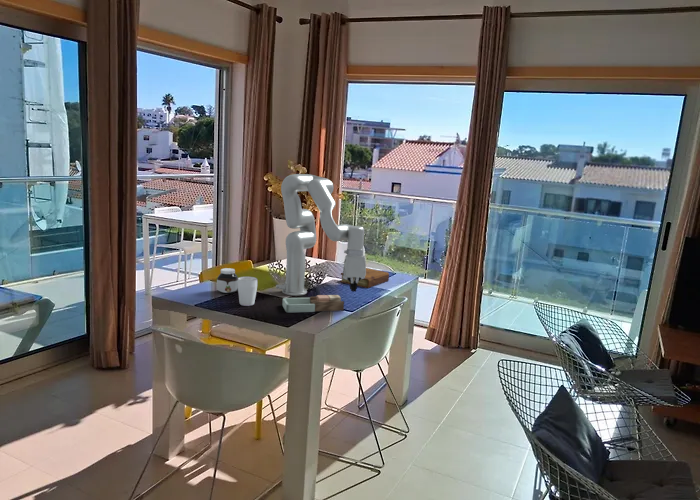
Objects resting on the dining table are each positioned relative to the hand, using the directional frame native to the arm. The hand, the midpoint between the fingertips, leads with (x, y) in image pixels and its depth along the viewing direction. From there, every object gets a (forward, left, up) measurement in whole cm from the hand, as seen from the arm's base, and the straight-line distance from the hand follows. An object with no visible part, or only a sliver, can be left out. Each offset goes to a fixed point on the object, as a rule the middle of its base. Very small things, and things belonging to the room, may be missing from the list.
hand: (353, 290), depth 253 cm
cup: (-48, +10, -9) cm, 50 cm away
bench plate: (-12, +1, -8) cm, 15 cm away
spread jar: (-54, +31, -9) cm, 63 cm away
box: (-26, +1, -8) cm, 27 cm away
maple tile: (-9, +1, -5) cm, 10 cm away
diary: (+23, +49, -9) cm, 54 cm away
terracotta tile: (-14, +1, -5) cm, 15 cm away
